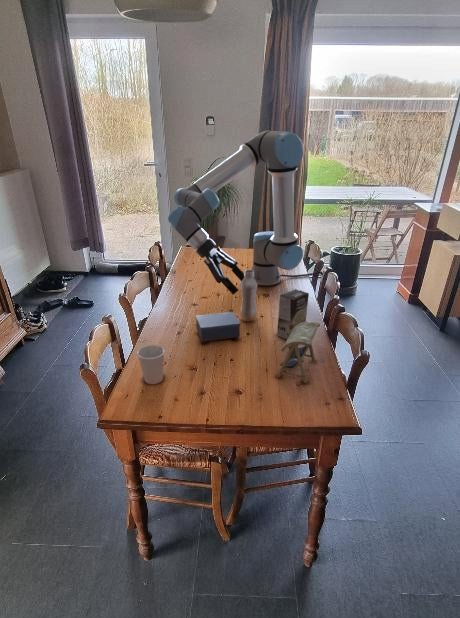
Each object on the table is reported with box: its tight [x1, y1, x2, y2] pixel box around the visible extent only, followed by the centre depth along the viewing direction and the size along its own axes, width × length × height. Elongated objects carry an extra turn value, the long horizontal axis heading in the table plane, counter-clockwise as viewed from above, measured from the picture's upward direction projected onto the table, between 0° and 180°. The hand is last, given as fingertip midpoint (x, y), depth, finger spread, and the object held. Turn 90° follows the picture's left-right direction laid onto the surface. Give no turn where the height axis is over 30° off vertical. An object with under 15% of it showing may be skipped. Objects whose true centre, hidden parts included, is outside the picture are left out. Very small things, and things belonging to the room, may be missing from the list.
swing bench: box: [276, 320, 321, 384], centre depth 137 cm, size 15×10×15 cm, turn 158°
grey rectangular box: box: [194, 311, 241, 345], centre depth 159 cm, size 14×10×7 cm
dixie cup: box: [136, 344, 166, 385], centre depth 134 cm, size 8×8×10 cm
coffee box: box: [276, 288, 310, 341], centre depth 158 cm, size 9×6×16 cm
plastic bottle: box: [239, 269, 258, 322], centre depth 168 cm, size 6×7×20 cm
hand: (240, 286), depth 166 cm, fingers open, 13 cm apart
